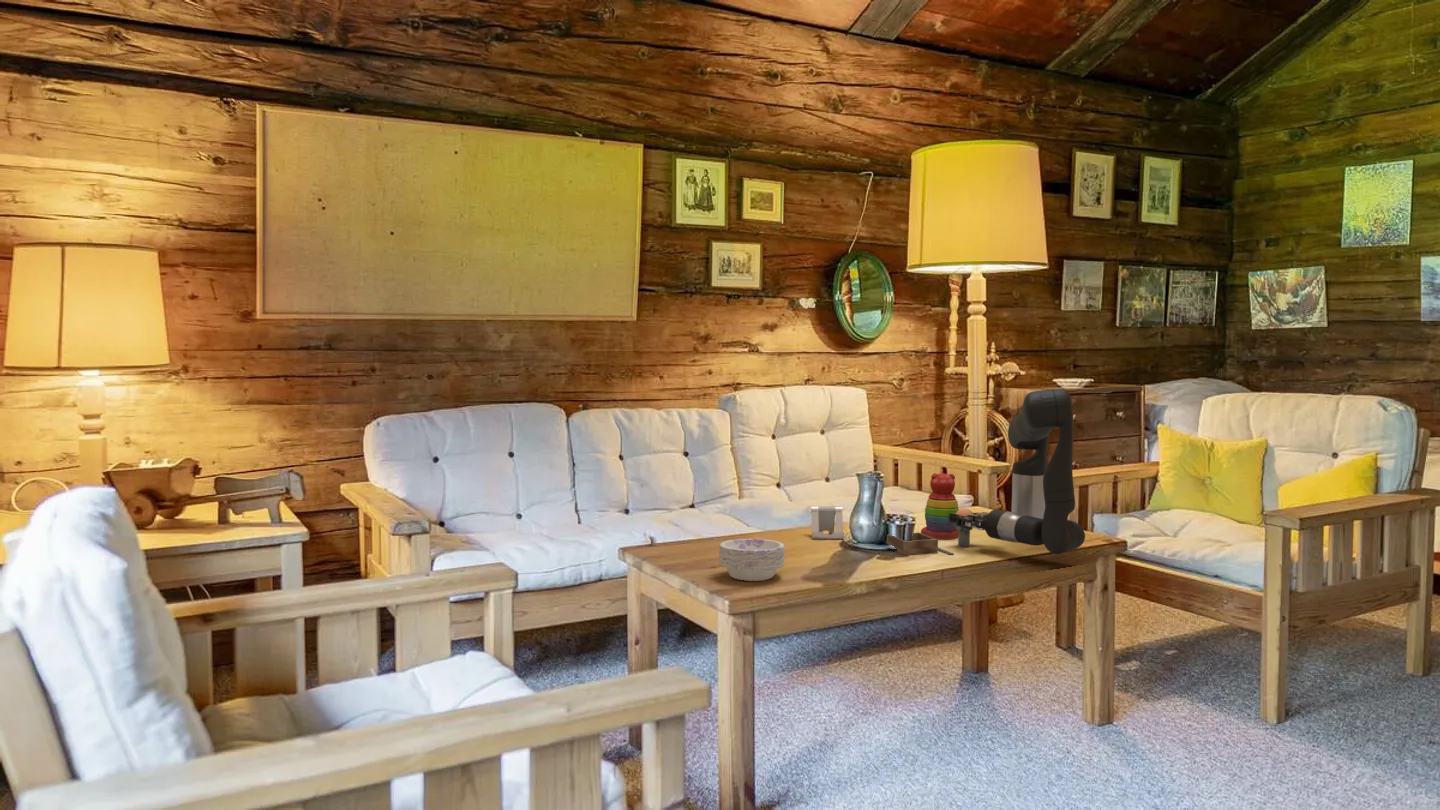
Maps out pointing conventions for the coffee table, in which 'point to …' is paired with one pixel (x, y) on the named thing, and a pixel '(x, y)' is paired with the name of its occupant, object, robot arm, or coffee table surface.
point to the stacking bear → (941, 508)
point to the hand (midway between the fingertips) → (956, 516)
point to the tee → (963, 537)
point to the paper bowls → (751, 558)
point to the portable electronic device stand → (827, 522)
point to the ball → (964, 512)
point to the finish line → (945, 551)
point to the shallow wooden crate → (914, 544)
